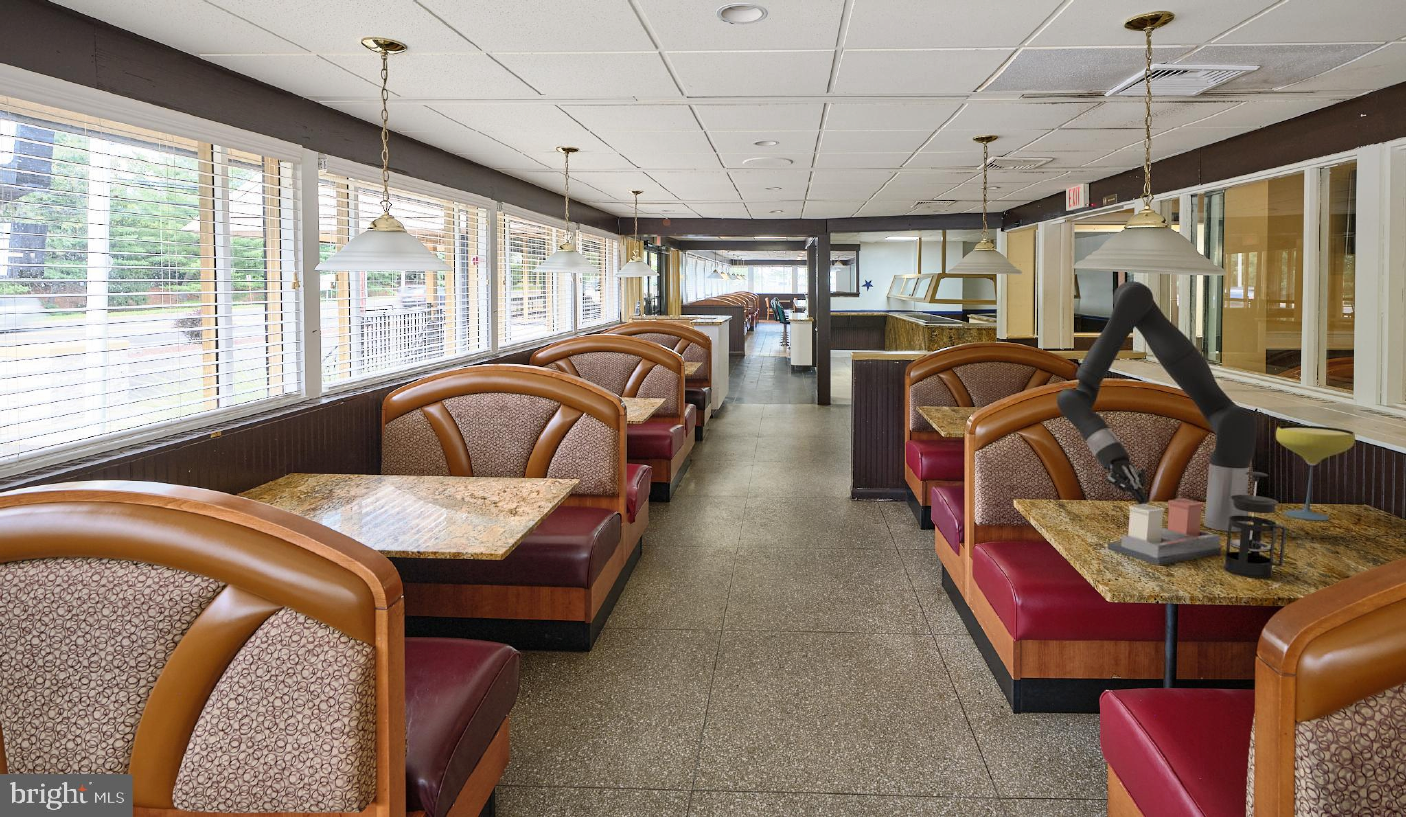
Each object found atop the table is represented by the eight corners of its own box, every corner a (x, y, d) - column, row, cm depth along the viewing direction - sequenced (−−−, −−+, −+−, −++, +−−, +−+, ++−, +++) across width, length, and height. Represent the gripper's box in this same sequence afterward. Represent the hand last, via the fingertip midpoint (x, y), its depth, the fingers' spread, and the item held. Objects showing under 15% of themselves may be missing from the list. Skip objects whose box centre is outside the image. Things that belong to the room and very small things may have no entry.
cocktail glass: (1255, 512, 246) (1263, 427, 242) (1291, 505, 254) (1299, 423, 251) (1323, 527, 230) (1333, 436, 226) (1359, 519, 238) (1369, 432, 235)
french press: (1214, 570, 193) (1222, 471, 190) (1227, 561, 199) (1236, 466, 196) (1274, 583, 184) (1284, 480, 181) (1286, 574, 191) (1296, 474, 188)
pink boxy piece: (1165, 539, 212) (1168, 500, 210) (1179, 537, 214) (1183, 498, 213) (1185, 545, 207) (1188, 505, 205) (1200, 542, 209) (1203, 503, 208)
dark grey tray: (1107, 548, 209) (1108, 531, 209) (1167, 538, 218) (1169, 521, 218) (1158, 565, 197) (1160, 546, 196) (1220, 553, 206) (1222, 535, 205)
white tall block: (1126, 546, 206) (1129, 506, 204) (1141, 543, 208) (1144, 503, 207) (1145, 552, 201) (1149, 511, 200) (1161, 549, 203) (1164, 508, 202)
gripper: (1098, 442, 223) (1136, 498, 214) (1133, 439, 229) (1172, 492, 219) (1081, 459, 229) (1117, 513, 219) (1115, 455, 234) (1152, 508, 225)
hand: (1144, 503), depth 219 cm, fingers closed
